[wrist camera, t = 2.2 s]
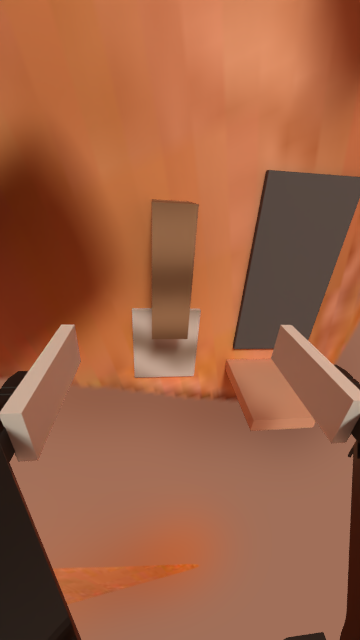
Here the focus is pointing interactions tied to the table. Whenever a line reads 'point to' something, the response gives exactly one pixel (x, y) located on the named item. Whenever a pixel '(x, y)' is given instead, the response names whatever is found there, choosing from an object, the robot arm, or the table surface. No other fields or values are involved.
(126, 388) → the table surface
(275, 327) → the mat
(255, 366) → the tile
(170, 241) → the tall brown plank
